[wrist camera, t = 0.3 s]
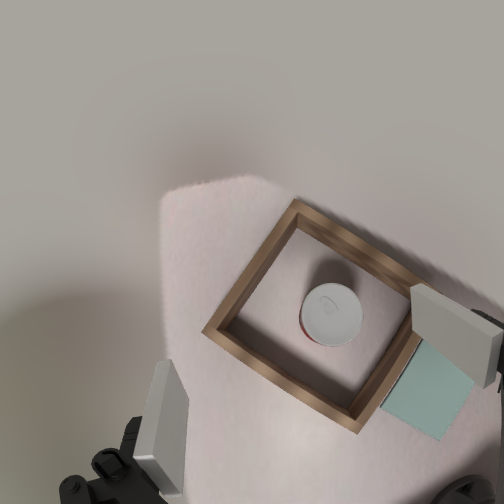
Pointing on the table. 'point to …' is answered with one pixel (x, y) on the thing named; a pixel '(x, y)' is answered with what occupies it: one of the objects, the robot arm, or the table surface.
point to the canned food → (331, 315)
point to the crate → (356, 253)
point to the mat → (429, 392)
